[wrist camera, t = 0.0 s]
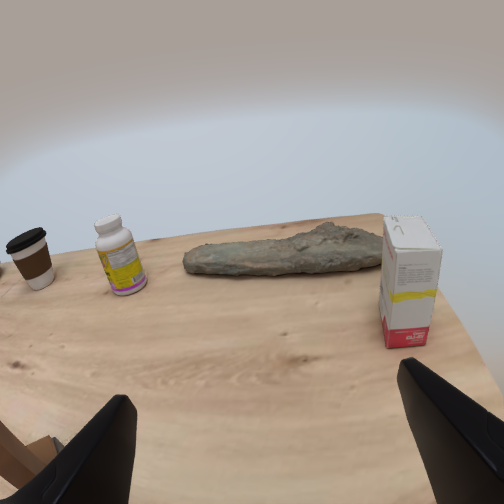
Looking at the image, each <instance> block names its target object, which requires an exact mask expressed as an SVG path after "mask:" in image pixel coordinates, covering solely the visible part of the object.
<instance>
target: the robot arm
mask: <svg viewBox="0 0 504 504" xmlns="http://www.w3.org/2000/svg"><path fill="white" fill-rule="evenodd" d="M397 383H398V386H399V390H400V394H401V397H402V401H403V405H404V409H405V412H406V416H407V420H408V423H409V426H410V428H411V431H412V433H413V436H414V439H415V441H416V444H417V447H418V449H419V452H420V455H421V458H422V460H423V463H424V466H425V469H426V472H427V475H428V478H429V480H430V483H431V486H432V489H433V493H434V496H435V499H436V502H437V504H504V422H503V421H502V420H500V419H499V418H498V417H496V416H495V415H493V414H492V413H491V412H488V411H487V410H486V409H485V408H483V407H482V406H481V405H479V404H478V403H476V402H475V401H474V400H472V399H471V398H470V397H468V396H467V395H465V394H464V393H463V392H461V391H460V390H458V389H457V388H456V387H454V386H453V385H451V384H450V383H449V382H447V381H446V380H444V379H443V378H442V377H440V376H439V375H437V374H436V373H435V372H433V371H432V370H430V369H429V368H428V367H426V366H425V365H423V364H422V363H421V362H419V361H418V360H416V359H415V358H413V357H410V358H407V359H403V360H401V362H400V365H399V370H398V374H397ZM136 430H137V410H136V408H135V406H134V405H133V403H132V402H131V400H130V399H129V397H128V396H127V395H115V396H113V397H112V398H111V399H110V401H109V402H108V403H107V404H106V405H105V406H104V407H103V408H102V409H101V410H100V411H99V412H98V413H97V414H96V415H95V416H94V417H93V418H92V419H91V420H90V421H89V422H88V423H87V424H86V425H85V426H84V427H83V428H82V429H81V431H80V432H79V433H78V434H77V435H76V436H75V437H74V438H73V439H72V440H71V441H70V442H69V443H68V444H67V445H66V446H65V447H64V448H63V449H62V450H61V451H60V452H59V453H58V454H57V455H56V456H55V458H53V459H52V460H51V461H50V462H49V463H48V465H46V466H45V467H44V468H43V469H42V470H41V471H40V472H39V473H38V474H37V475H36V476H35V477H34V478H32V479H31V480H30V481H29V482H28V483H26V484H25V485H24V486H23V487H22V488H20V489H19V490H18V491H17V492H15V493H14V494H13V495H12V496H10V497H8V498H6V499H2V500H0V504H128V501H129V493H130V486H131V478H132V471H133V464H134V458H135V449H136Z"/></svg>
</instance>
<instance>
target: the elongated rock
mask: <svg viewBox="0 0 504 504" xmlns="http://www.w3.org/2000/svg"><path fill="white" fill-rule="evenodd" d="M382 252H383V237H380V236H377V235H375V234H374V233H369V232H367V231H364V230H363V229H358V228H351V229H349V228H348V227H346V226H342V227H340V226H335V225H334V223H333V222H330V223H329V222H325V223H323V224H322V225H319V226H317V227H316V229H313V230H311V232H307V233H298V234H296V235H295V236H293V237H289V238H287V239H280V240H275V239H274V240H270V239H267V240H258V241H249V242H233V243H221V244H205V245H201V246H198V247H196V248H193V249H192V250H190V251H189V252H187V253H185V255H184V258H183V261H182V262H183V265H184V268H185V269H186V271H187V272H188V273H192V274H194V273H205V274H229V275H235V276H239V275H241V274H249V275H257V276H259V275H268V276H276V275H281V274H285V273H295V272H299V273H301V272H306V273H316V272H317V273H325V272H329V271H356V270H359V269H360V268H361V267H369V266H375V265H378V264H381V263H382Z"/></svg>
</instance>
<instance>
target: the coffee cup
mask: <svg viewBox="0 0 504 504" xmlns="http://www.w3.org/2000/svg"><path fill="white" fill-rule="evenodd" d="M45 236H46V231H44V230H43V228H41V227H39V228H34V229H32V230H29V231H27V232H25V233H23V234H21V235H19V236H17V237H15V238H14V239H12V240H11V241H10V242H9V243H8V244H7V245H6V248H7V250H6V252H7V254H10V255H11V256H12V258H13V261H14V263H15V264H16V266H17V268H18V269H19V271H20V273H21V274H22V276H23V277H24V279H25V280H26V281H27V282H28V284H29V285H30V287H31V288H32V289H34V290H40V289H42V288H45V287H46V286H48V285H49V284H50V283H52V281H53V280H54V274H53V270H52V263H51V259H50V255H49V251H48V247H47V243H46V241H45Z"/></svg>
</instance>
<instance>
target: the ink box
mask: <svg viewBox="0 0 504 504" xmlns="http://www.w3.org/2000/svg"><path fill="white" fill-rule="evenodd" d="M441 259H442V248H441V247H440V245H439V243H438V242H437V240H436V239H435V237H434V235H433V233H432V232H431V230H430V228H429V227H428V225H427V224H426V222H425V221H424V219H423V218H422V217H414V216H385V217H384V218H383V252H382V270H381V283H380V295H379V307H380V313H381V318H382V324H383V330H384V336H385V344H386V348H395V347H408V346H419V345H425V344H426V340H427V335H428V331H429V326H430V322H431V317H432V312H433V307H434V302H435V297H436V291H437V285H438V279H439V273H440V267H441Z"/></svg>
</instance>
